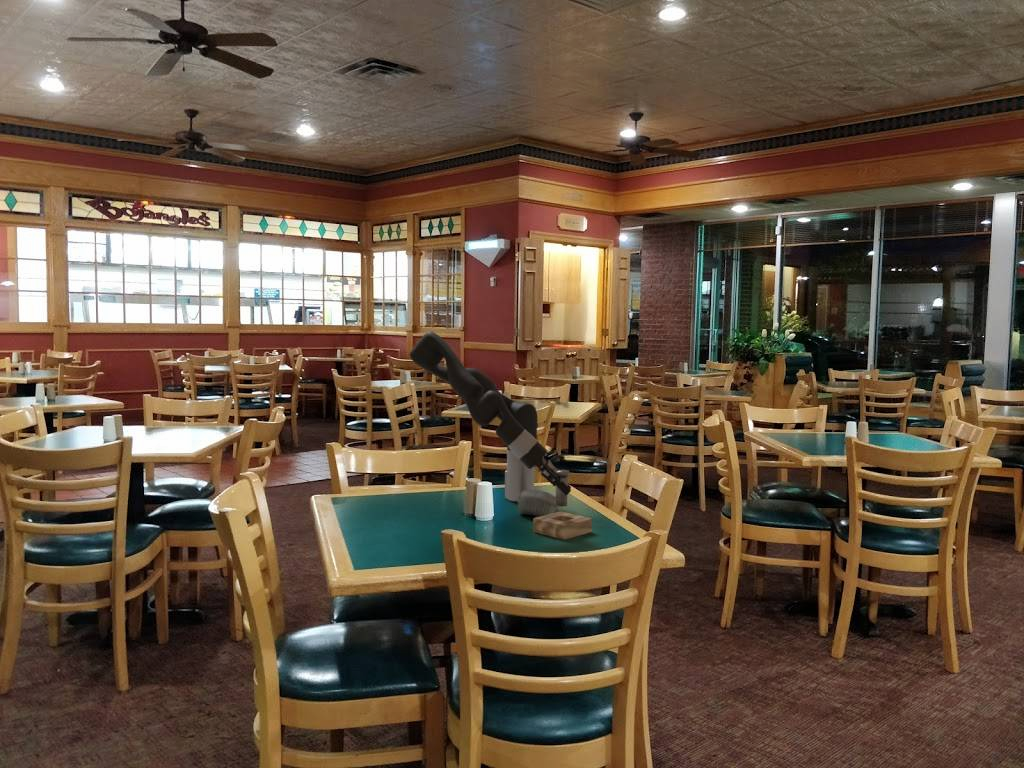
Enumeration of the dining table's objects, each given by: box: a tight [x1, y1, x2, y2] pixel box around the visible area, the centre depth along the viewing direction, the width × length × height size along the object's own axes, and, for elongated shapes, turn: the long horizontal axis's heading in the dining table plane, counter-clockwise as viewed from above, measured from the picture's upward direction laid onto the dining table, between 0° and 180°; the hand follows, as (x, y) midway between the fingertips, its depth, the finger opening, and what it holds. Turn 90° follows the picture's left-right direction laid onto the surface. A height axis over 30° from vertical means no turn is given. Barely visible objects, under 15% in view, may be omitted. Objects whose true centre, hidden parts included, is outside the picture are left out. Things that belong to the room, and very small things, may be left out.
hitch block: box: [532, 511, 593, 541], centre depth 239 cm, size 12×12×4 cm
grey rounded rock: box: [517, 489, 558, 517], centre depth 257 cm, size 14×10×10 cm
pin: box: [555, 469, 570, 508], centre depth 238 cm, size 4×4×10 cm
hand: (568, 491), depth 237 cm, fingers closed on pin, 3 cm apart
